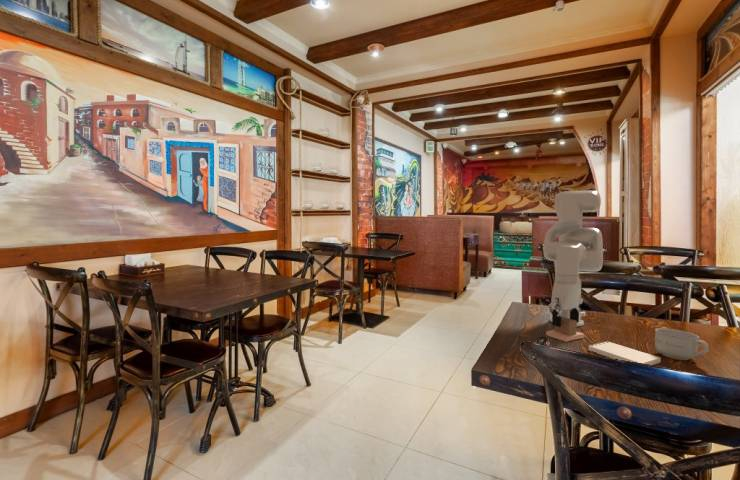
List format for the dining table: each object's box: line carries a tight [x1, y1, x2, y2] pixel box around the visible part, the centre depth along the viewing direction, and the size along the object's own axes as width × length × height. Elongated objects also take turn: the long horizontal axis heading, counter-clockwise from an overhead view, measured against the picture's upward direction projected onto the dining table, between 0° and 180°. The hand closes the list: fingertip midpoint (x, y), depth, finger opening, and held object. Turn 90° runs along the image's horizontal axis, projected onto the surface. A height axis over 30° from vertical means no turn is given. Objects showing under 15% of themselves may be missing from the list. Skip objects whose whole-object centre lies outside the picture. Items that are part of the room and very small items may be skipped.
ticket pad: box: [588, 341, 662, 366], centre depth 116 cm, size 10×16×2 cm, turn 26°
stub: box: [545, 317, 585, 343], centre depth 134 cm, size 10×8×6 cm
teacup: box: [654, 327, 710, 361], centre depth 114 cm, size 14×11×8 cm
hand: (565, 323), depth 135 cm, fingers open, 9 cm apart
